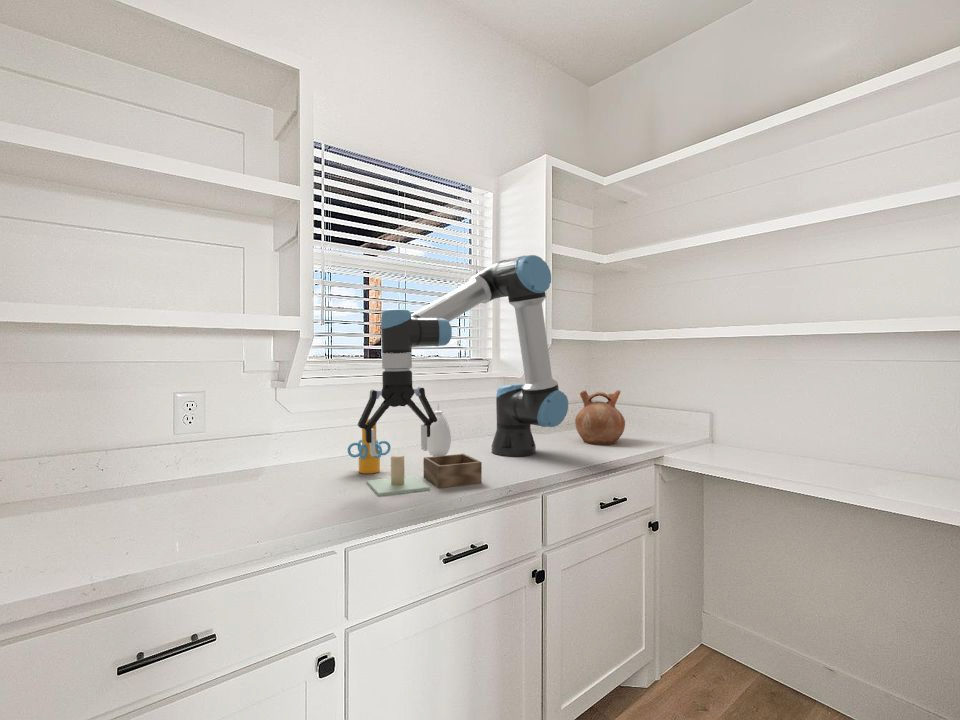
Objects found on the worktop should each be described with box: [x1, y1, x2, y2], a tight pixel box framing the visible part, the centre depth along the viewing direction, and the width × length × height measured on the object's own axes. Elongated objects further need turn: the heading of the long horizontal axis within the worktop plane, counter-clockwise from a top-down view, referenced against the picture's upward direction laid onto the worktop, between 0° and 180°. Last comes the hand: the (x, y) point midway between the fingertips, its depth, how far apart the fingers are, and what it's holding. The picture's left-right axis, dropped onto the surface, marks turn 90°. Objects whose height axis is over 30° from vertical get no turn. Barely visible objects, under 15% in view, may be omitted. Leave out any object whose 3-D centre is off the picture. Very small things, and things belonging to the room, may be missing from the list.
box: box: [423, 453, 483, 489], centre depth 135 cm, size 12×12×6 cm
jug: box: [574, 389, 626, 446], centre depth 192 cm, size 18×18×20 cm
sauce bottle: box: [427, 402, 452, 457], centre depth 162 cm, size 8×8×18 cm
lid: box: [366, 454, 431, 497], centre depth 129 cm, size 13×13×8 cm
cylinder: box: [347, 418, 392, 475], centre depth 145 cm, size 12×10×15 cm
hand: (399, 452), depth 129 cm, fingers open, 13 cm apart
